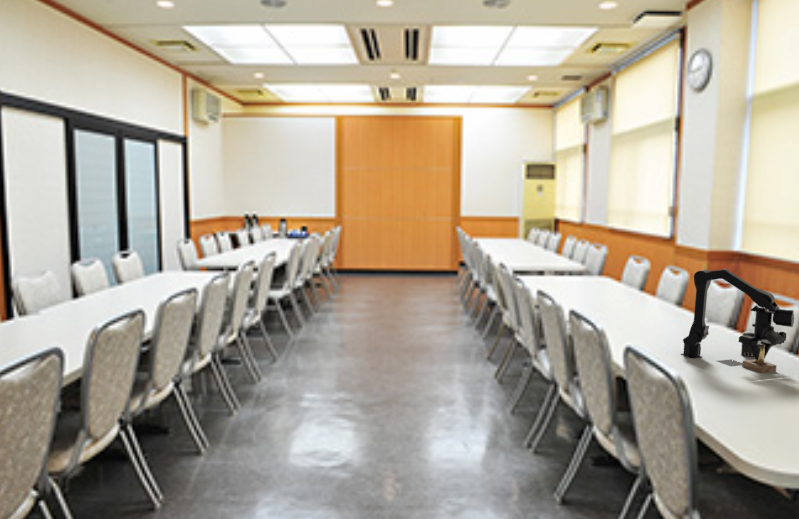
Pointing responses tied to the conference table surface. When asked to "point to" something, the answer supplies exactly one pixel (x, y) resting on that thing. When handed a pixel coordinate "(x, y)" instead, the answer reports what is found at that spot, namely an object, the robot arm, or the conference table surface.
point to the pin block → (759, 366)
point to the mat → (730, 362)
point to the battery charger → (746, 347)
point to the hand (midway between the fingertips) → (759, 359)
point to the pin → (761, 356)
